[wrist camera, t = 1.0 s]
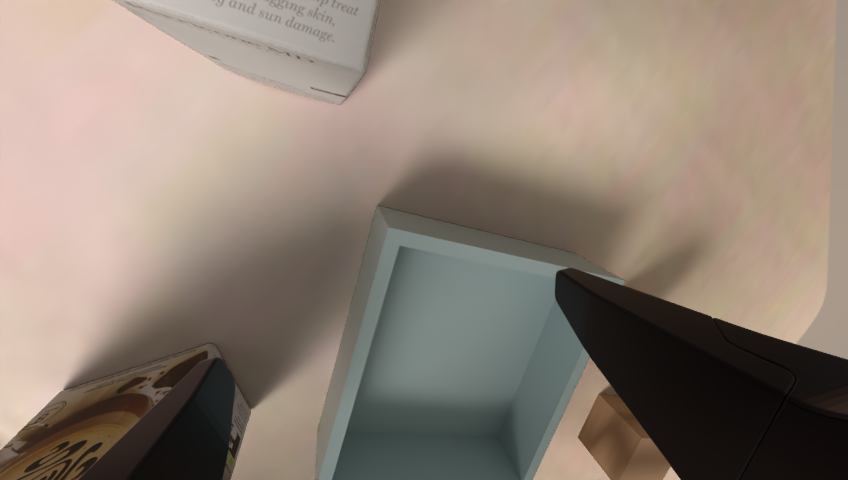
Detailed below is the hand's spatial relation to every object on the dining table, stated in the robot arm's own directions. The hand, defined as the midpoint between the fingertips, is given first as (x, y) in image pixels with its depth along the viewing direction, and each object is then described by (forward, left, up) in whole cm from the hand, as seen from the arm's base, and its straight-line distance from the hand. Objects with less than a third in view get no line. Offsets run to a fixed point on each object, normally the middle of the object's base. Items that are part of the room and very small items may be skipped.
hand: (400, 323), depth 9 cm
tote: (-8, -9, -14) cm, 18 cm away
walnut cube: (-14, -28, -14) cm, 34 cm away
